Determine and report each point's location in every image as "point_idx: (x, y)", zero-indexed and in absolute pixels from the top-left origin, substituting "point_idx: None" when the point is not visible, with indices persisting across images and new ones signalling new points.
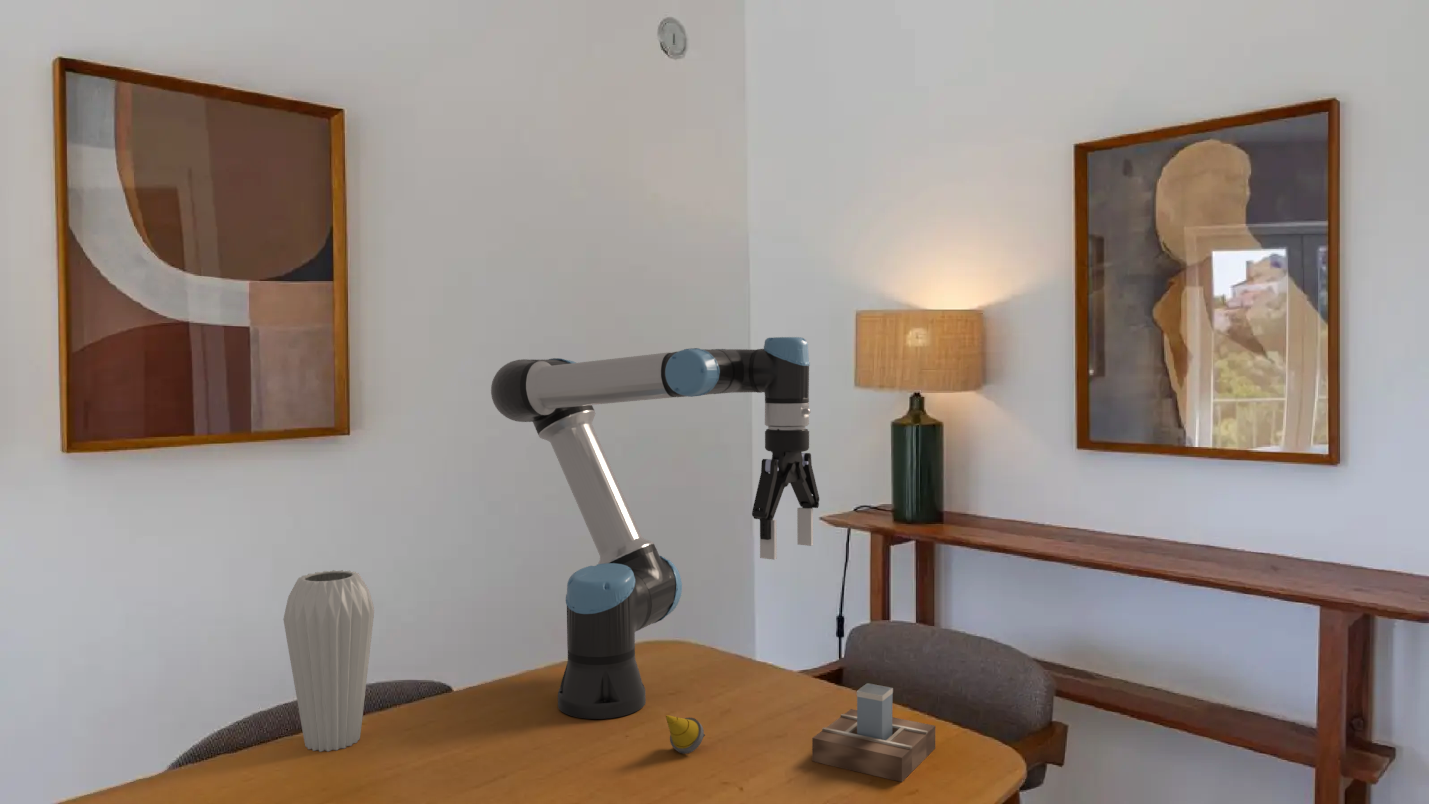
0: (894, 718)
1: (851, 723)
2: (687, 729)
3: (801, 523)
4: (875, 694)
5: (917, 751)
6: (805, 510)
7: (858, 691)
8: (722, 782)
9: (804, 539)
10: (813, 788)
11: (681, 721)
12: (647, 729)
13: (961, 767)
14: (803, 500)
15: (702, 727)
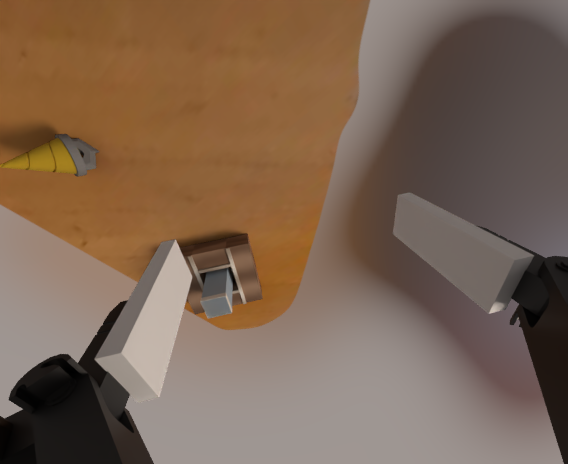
0: (254, 275)
1: (220, 261)
2: (54, 171)
3: (446, 239)
4: (206, 314)
5: None
6: (489, 288)
7: (201, 302)
8: (74, 226)
9: (405, 223)
10: (138, 275)
11: (38, 169)
12: (64, 62)
13: (245, 309)
14: (544, 321)
15: (85, 171)
